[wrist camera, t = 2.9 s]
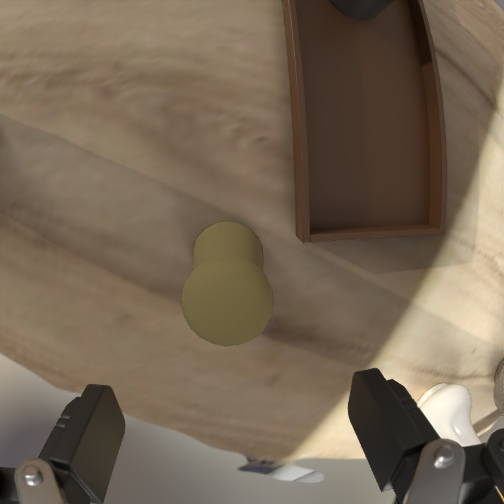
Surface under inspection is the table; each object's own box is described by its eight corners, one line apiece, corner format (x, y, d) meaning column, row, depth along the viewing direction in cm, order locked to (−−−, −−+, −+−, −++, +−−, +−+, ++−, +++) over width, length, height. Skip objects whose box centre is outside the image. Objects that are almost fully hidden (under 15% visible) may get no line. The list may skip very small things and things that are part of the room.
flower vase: (369, 447, 35) (428, 578, 11) (433, 347, 31) (556, 483, 7) (428, 440, 37) (490, 541, 13) (486, 350, 33) (587, 447, 9)
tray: (296, 236, 26) (302, 242, 24) (272, -72, 17) (275, -85, 14) (429, 229, 27) (444, 234, 24) (391, -50, 18) (400, -59, 15)
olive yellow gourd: (184, 231, 25) (153, 275, 15) (254, 213, 25) (272, 245, 15) (203, 296, 27) (190, 371, 16) (269, 280, 27) (294, 348, 16)
